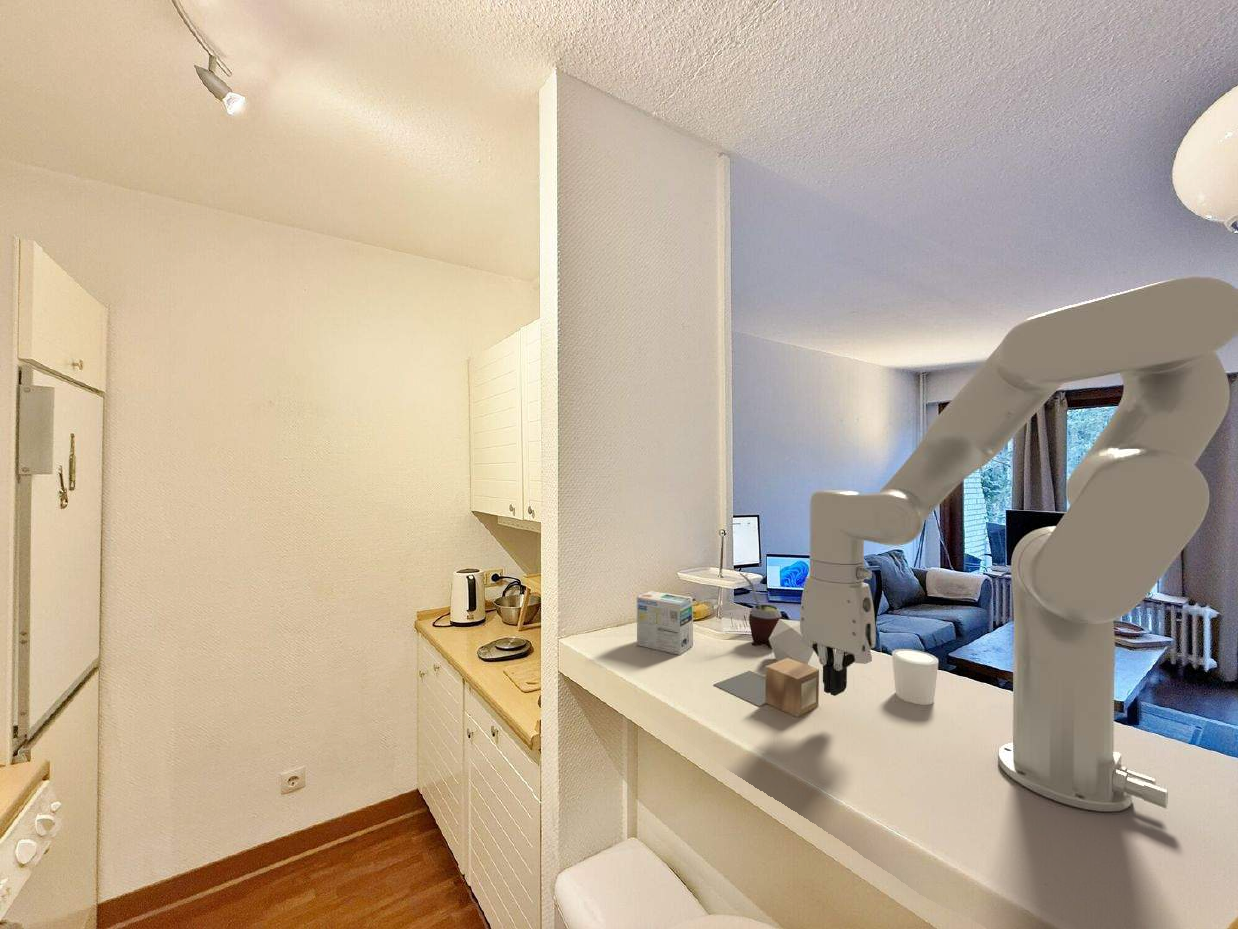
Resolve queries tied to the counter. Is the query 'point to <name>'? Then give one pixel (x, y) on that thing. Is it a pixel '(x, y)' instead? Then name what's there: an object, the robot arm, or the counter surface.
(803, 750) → the counter surface
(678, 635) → the light bulb box
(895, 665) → the white cylinder
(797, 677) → the walnut block
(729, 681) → the mat
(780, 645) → the die
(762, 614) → the mate gourd
